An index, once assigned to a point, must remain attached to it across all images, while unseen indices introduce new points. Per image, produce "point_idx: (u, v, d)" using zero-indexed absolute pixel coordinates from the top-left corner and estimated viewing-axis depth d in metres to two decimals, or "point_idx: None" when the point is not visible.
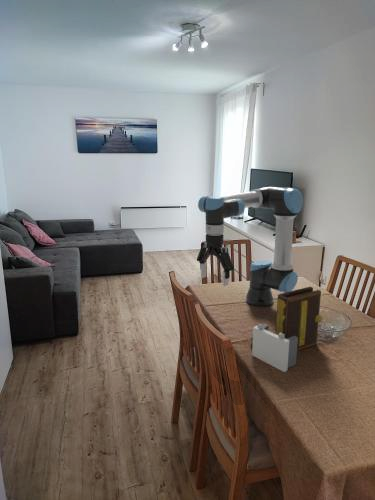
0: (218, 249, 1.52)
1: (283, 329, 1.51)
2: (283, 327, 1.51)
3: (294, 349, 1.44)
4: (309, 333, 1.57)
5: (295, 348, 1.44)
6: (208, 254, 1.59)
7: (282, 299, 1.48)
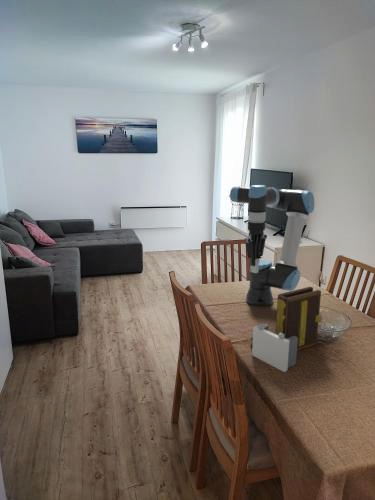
0: None
1: (283, 329, 1.51)
2: (283, 327, 1.51)
3: (294, 349, 1.44)
4: (309, 333, 1.57)
5: (295, 348, 1.44)
6: None
7: (282, 299, 1.48)
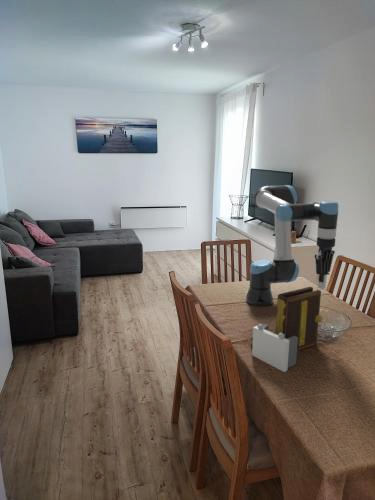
0: None
1: (283, 329, 1.51)
2: (283, 327, 1.51)
3: (294, 349, 1.44)
4: (309, 333, 1.57)
5: (295, 348, 1.44)
6: None
7: (282, 299, 1.48)
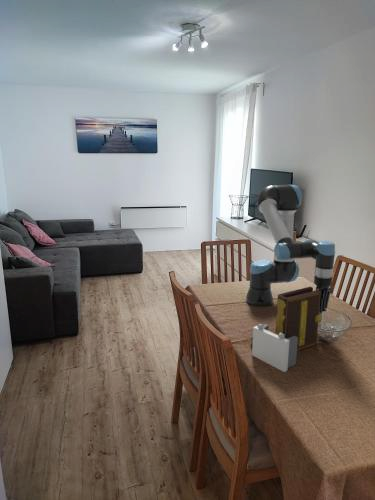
0: None
1: (283, 329, 1.51)
2: (283, 327, 1.51)
3: (294, 349, 1.44)
4: (309, 333, 1.57)
5: (295, 348, 1.44)
6: None
7: (282, 299, 1.48)
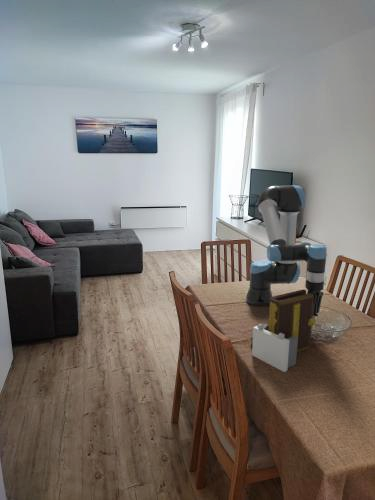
0: None
1: (275, 333, 1.48)
2: (275, 331, 1.48)
3: (294, 349, 1.44)
4: (302, 336, 1.54)
5: (295, 348, 1.44)
6: None
7: (274, 302, 1.45)
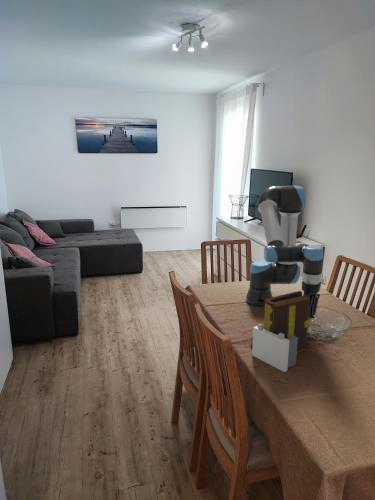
0: None
1: None
2: None
3: (294, 349, 1.44)
4: None
5: (295, 348, 1.44)
6: None
7: (269, 304, 1.44)
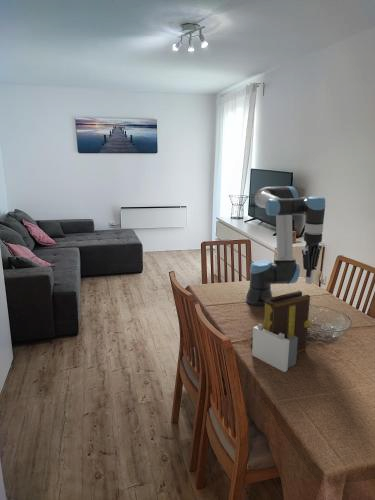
0: None
1: None
2: None
3: (294, 349, 1.44)
4: None
5: (295, 348, 1.44)
6: None
7: (269, 304, 1.44)
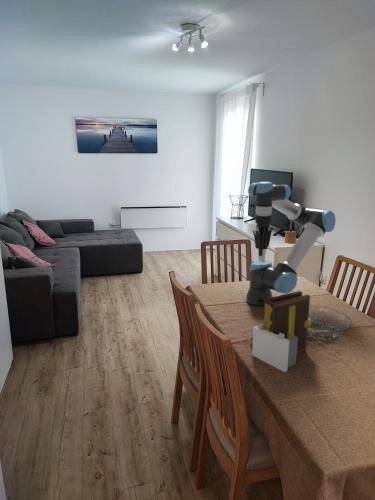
0: None
1: None
2: None
3: (294, 349, 1.44)
4: None
5: (295, 348, 1.44)
6: None
7: (269, 304, 1.44)
